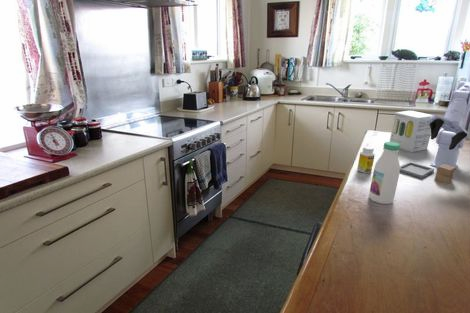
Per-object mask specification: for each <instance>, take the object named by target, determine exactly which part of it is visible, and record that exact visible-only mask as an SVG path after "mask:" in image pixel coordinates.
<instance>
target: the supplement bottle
mask: <svg viewBox="0 0 470 313" xmlns="http://www.w3.org/2000/svg"><path fill="white" fill-rule="evenodd" d="M375 157H376V156H375V152H374V147H372V146H369V145H365V146H363V148H362V150H361V151H360V152H359V157H358V163H357V169H356V170H357V171H358V172H359V173H364V174H370V173H371V172H373V171H372V170H373V166H374V160H375Z"/></svg>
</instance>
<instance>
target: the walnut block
mask: <svg viewBox="0 0 470 313" xmlns="http://www.w3.org/2000/svg"><path fill="white" fill-rule="evenodd" d="M455 172H456V168H455V167H452V166H448V165H444V164H442V165H440V166H438V167H437V169H436V173H435V175H434V176H435V177H434V182H438V183H442V184H445V185H449V184H450V183H452V181H453V178H454V174H455Z"/></svg>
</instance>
